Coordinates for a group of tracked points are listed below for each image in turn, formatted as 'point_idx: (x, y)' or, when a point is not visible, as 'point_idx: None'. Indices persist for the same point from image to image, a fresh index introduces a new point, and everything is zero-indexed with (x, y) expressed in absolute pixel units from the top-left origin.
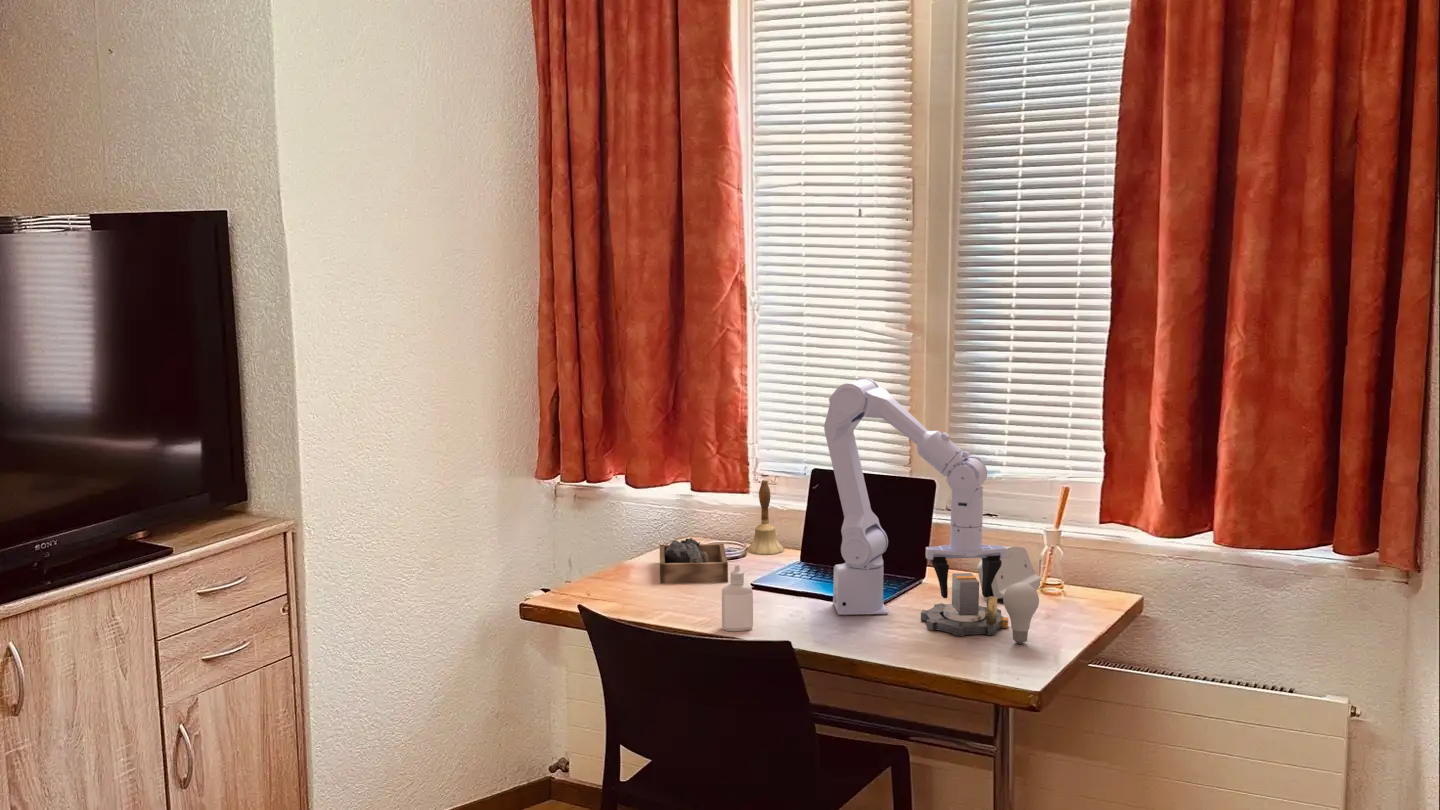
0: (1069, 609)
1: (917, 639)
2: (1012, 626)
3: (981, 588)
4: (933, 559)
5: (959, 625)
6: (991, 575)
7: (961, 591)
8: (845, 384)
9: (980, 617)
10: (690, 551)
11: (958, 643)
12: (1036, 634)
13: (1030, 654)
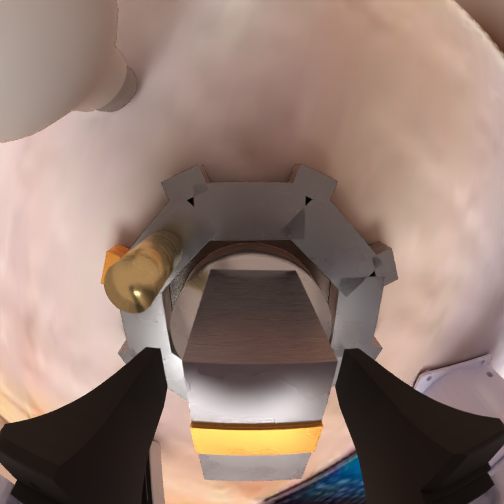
0: (6, 356)
1: (434, 173)
2: (123, 59)
3: (161, 467)
4: (491, 476)
5: (308, 205)
6: (87, 410)
7: (311, 325)
8: None
9: (202, 269)
10: None
11: (329, 107)
12: (54, 187)
13: (129, 12)
